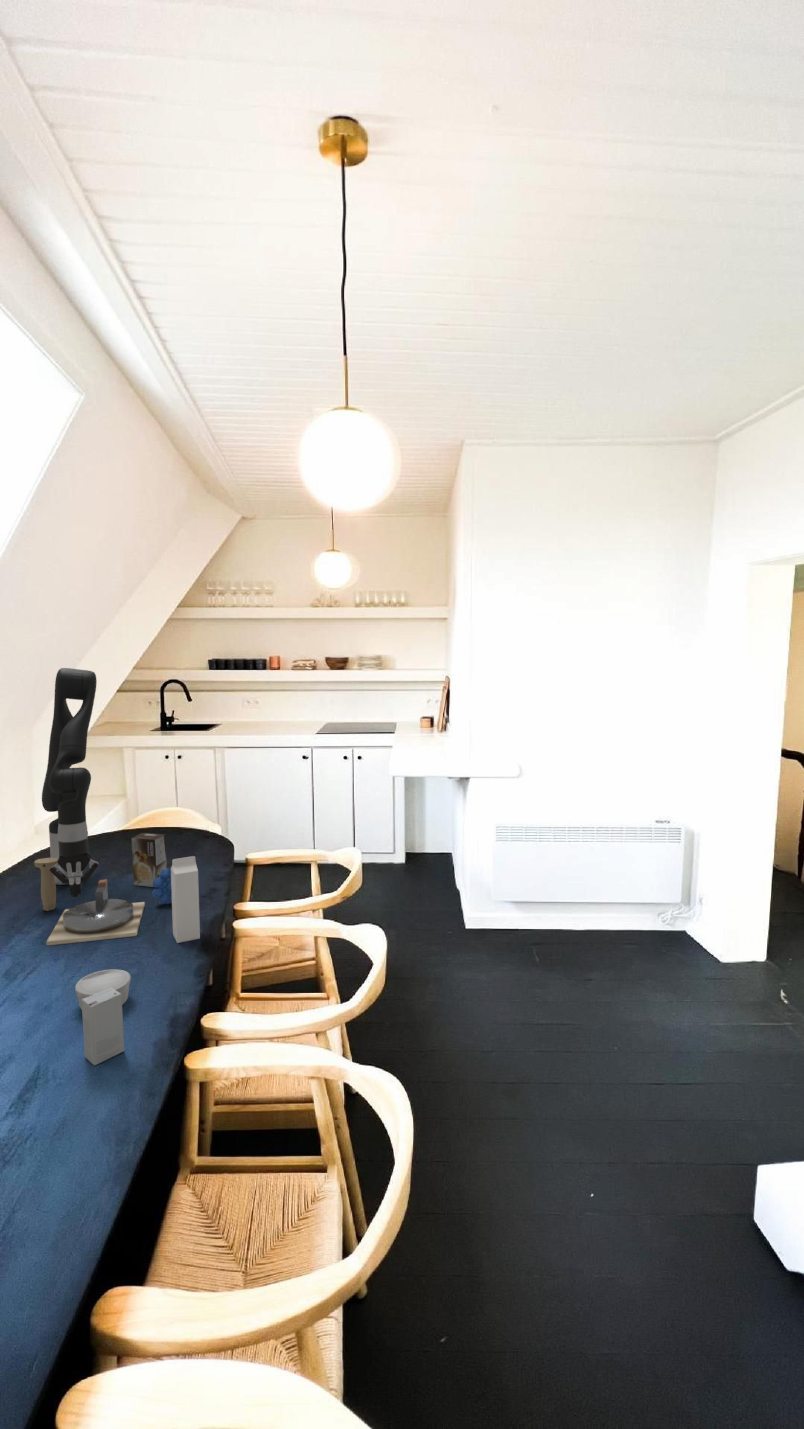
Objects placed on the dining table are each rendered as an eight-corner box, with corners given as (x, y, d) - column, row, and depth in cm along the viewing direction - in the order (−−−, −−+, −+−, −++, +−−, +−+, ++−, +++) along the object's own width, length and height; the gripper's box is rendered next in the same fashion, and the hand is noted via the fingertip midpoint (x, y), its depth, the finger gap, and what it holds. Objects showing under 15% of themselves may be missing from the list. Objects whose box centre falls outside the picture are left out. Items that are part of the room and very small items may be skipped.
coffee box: (168, 881, 219) (167, 834, 217) (157, 887, 213) (155, 839, 211) (144, 878, 221) (142, 832, 220) (132, 885, 215) (130, 837, 213)
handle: (58, 911, 194) (55, 862, 192) (34, 913, 192) (32, 863, 191) (63, 905, 198) (61, 857, 197) (40, 906, 197) (37, 858, 195)
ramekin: (116, 985, 152) (115, 963, 152) (141, 1001, 145) (140, 979, 145) (66, 1005, 144) (65, 982, 143) (91, 1024, 137) (89, 1000, 136)
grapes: (191, 895, 206) (190, 858, 205) (193, 903, 200) (192, 865, 199) (152, 900, 202) (150, 863, 201) (152, 909, 196) (151, 870, 194)
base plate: (65, 912, 193) (64, 908, 193) (144, 904, 199) (144, 901, 199) (46, 945, 172) (46, 941, 172) (136, 935, 178) (136, 931, 178)
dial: (71, 909, 192) (69, 882, 191) (137, 903, 197) (136, 876, 196) (56, 936, 174) (54, 906, 173) (129, 928, 179) (128, 900, 178)
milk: (200, 938, 176) (198, 859, 174) (176, 943, 173) (174, 862, 171) (195, 930, 182) (193, 852, 179) (172, 934, 179) (170, 856, 176)
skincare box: (114, 1043, 130) (111, 985, 129) (125, 1052, 127) (123, 993, 126) (83, 1058, 125) (79, 997, 124) (93, 1067, 122) (90, 1006, 121)
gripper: (44, 843, 181) (48, 904, 183) (97, 838, 186) (100, 897, 187) (48, 836, 188) (52, 894, 190) (99, 831, 193) (102, 888, 194)
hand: (76, 895), depth 188 cm, fingers closed
